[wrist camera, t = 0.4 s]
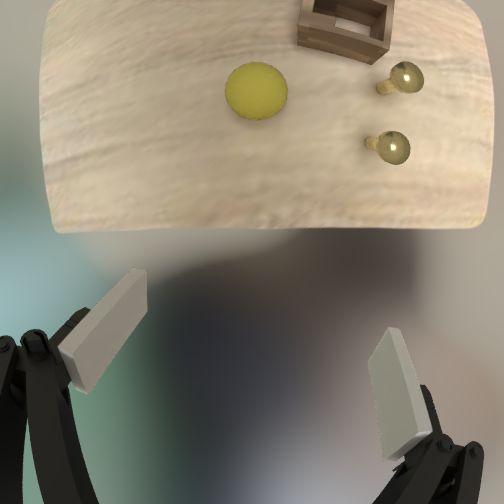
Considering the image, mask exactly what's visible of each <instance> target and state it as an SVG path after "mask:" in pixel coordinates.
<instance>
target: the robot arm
mask: <svg viewBox="0 0 504 504" xmlns="http://www.w3.org/2000/svg"><path fill="white" fill-rule="evenodd" d="M146 312H147V287H146V270H143V269H139V268H136V267H133V268H132V269H131V270H130V271H129V272H128V273H127V274H126V275H125V276H124V277H123V278H122V279H121V280H120V281H119V282H118V283H117V284H116V285H115V286H114V287H113V288H112V289H111V290H110V291H109V292H108V293H107V294H106V295H105V296H104V297H103V298H102V299H101V300H100V301H99V302H98V303H97V305H96V306H95V307H94V308H93V309H92V310H90V309H88V308H86V307H84V308H82V309H81V310H79V311H77V312H75V313H74V314H73V315H72V316H71V317H70V319H69V320H68V321H66V323H65V324H64V325H63V326H62V327H61V328H60V329H59V330H58V331H57V332H56V333H55V334H54V335H53V336H52V337H51V338H50V339H49V340H48V338H47V335H46V334H45V333H44V331H42V330H39V329H33V330H29V331H27V332H26V333H24V334H23V336H22V337H21V340H20V343H21V345H22V347H21V346H17V345H16V343H15V341H14V339H13V338H12V337H10V336H1V337H0V504H23V492H22V478H23V454H24V442H25V433H26V425H27V418H28V425H29V433H30V441H31V447H32V454H33V459H34V465H35V470H36V474H37V478H38V483H39V487H40V491H41V495H42V498H43V502H44V504H99V502H98V500H97V497H96V495H95V492H94V489H93V486H92V484H91V480H90V477H89V474H88V471H87V468H86V464H85V461H84V458H83V454H82V451H81V446H80V443H79V439H78V435H77V430H76V425H75V421H74V417H73V410H72V405H71V399H70V393H69V388H68V384H69V383H70V382H71V381H72V383H73V385H74V388H75V389H77V390H79V391H81V392H83V393H85V394H87V395H89V393H90V392H91V390H92V388H93V387H94V385H95V384H96V382H97V381H98V380H99V378H100V377H101V375H102V374H103V372H104V371H105V369H106V368H107V366H108V365H109V364H110V362H111V361H112V359H113V358H114V356H115V355H116V354H117V352H118V351H119V349H120V348H121V347H122V345H123V344H124V342H125V341H126V339H127V338H128V337H129V335H130V334H131V333H132V331H133V330H134V328H135V327H136V326H137V324H138V323H139V322H140V320H141V319H142V317H143V316H144V315H145V313H146ZM368 367H369V373H370V378H371V383H372V388H373V394H374V400H375V406H376V412H377V419H378V426H379V433H380V441H381V448H382V458H383V462H384V461H397V460H398V459H400V458H401V457H402V456H404V457H405V461H404V462H403V463H401V464H400V465H399V466H397V467H396V468H394V469H393V470H392V471H393V472H394V471H396V470H397V469H398V470H397V471H396V473H395V474H394V475H393V477H392V478H391V480H390V481H389V483H388V484H387V485H386V487H385V488H384V489H383V491H382V492H381V493H380V495H379V496H378V497H377V498H376V500H375V501H374V502H373V503H372V504H477V502H478V497H479V491H480V485H481V477H482V470H483V460H484V450H483V448H482V446H481V445H480V444H479V443H478V442H475V441H472V442H470V443H468V444H467V445H466V446H465V447H464V446H459V445H455V444H454V443H453V441H452V439H451V438H450V437H449V436H448V435H446V434H443V433H442V430H441V426H440V423H439V419H438V416H437V413H436V410H435V406H434V403H433V400H432V397H431V393H430V392H429V390H428V389H427V387H426V386H425V385H419V382H418V379H417V376H416V373H415V370H414V367H413V364H412V361H411V358H410V355H409V352H408V350H407V347H406V345H405V342H404V339H403V337H402V334H401V331H400V329H396V328H391V327H388V328H387V330H386V332H385V333H384V335H383V337H382V339H381V340H380V342H379V344H378V346H377V347H376V349H375V350H374V352H373V354H372V355H371V357H370V359H369V360H368ZM454 480H455V481H454Z"/></svg>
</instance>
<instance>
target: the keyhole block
mask: <svg viewBox="0 0 504 504" xmlns="http://www.w3.org/2000/svg"><path fill="white" fill-rule="evenodd" d="M394 2H395V0H303V1H302V6H301V11H300V16H299V21H298V46H303V47H308V48H313V49H317V50H321V51H326V52H330V53H333V54H337V55H341V56H344V57H348V58H351V59H355V60H358V61H361V62H364V63H367V64H370V65H372V64H373V63H374V62H376V61H377V60H378V59H379V58H380V57H382V56H383V55H384V54H385V53H386V52H388V51H389V48H390V41H391V33H392V24H393V14H394ZM334 16H337V17H341V18H344V19H348V20H352V21H355V22H358V23H362V24H365V25H368V26H371V33H370V37H368V36H365V35H362V34H358V33H355V32H352V31H348V30H345V29H341V28H337V27H335V21H336V17H334Z"/></svg>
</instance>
